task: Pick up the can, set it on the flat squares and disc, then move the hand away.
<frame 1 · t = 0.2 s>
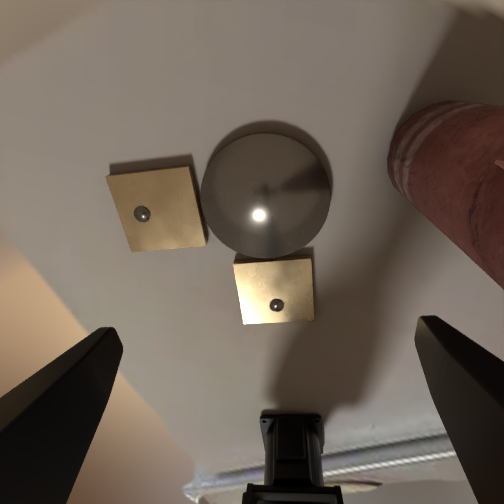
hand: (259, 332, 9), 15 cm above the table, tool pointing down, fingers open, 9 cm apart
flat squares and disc: (264, 199, 23), on the table
can: (431, 151, 20), on the table
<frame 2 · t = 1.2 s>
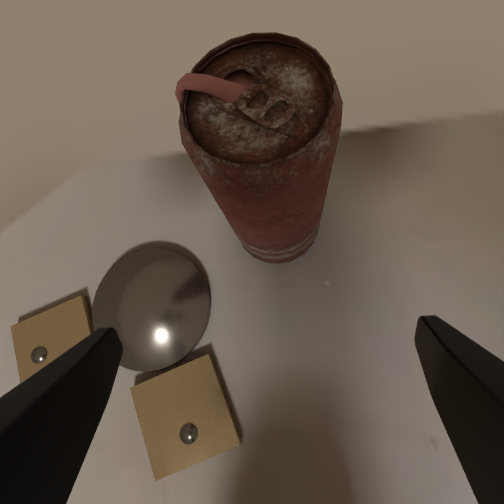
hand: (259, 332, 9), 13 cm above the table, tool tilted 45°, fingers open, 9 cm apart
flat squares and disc: (152, 307, 24), on the table
can: (275, 226, 24), on the table
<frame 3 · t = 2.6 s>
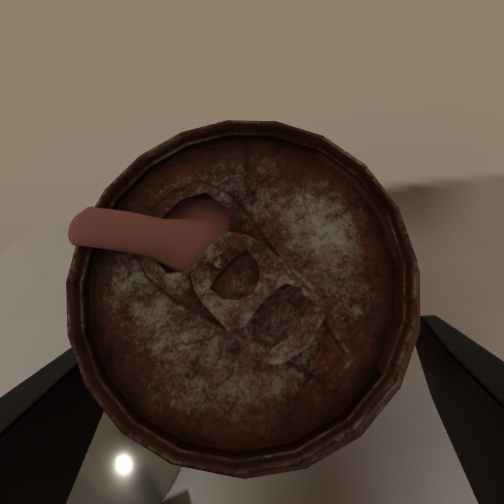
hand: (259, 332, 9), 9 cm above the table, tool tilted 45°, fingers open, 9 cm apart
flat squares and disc: (110, 432, 18), on the table
can: (275, 320, 18), on the table
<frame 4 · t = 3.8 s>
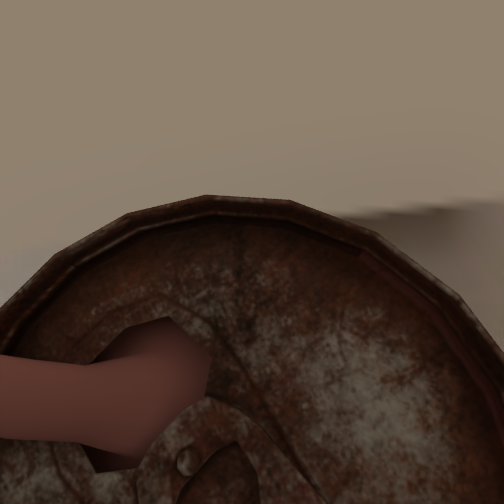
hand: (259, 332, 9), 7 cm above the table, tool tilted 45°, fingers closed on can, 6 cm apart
can: (278, 361, 16), on the table, touching gripper
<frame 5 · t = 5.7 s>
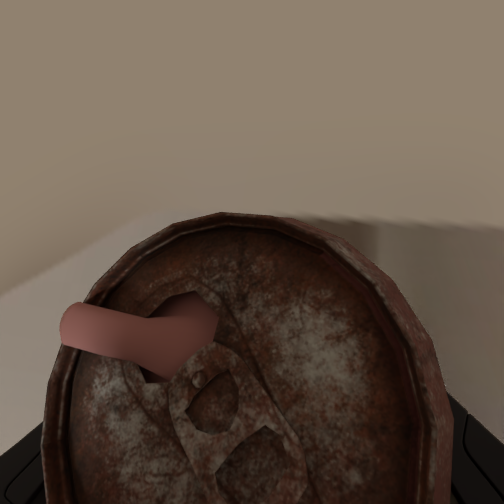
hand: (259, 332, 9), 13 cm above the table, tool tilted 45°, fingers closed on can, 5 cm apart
can: (319, 367, 17), point 5 cm above the table, touching gripper
when the fingers open (9 cm above the table, at t = 7.8 s): can stays where it is, resting on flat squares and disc.
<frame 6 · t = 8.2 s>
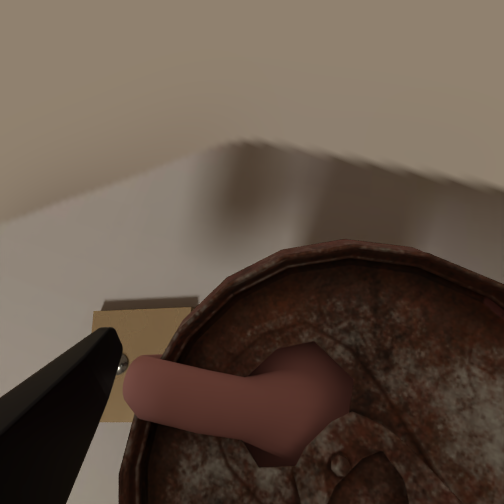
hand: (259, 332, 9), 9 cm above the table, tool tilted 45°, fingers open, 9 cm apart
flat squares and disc: (277, 359, 17), on the table
can: (319, 374, 16), point 1 cm above the table, touching gripper, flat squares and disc
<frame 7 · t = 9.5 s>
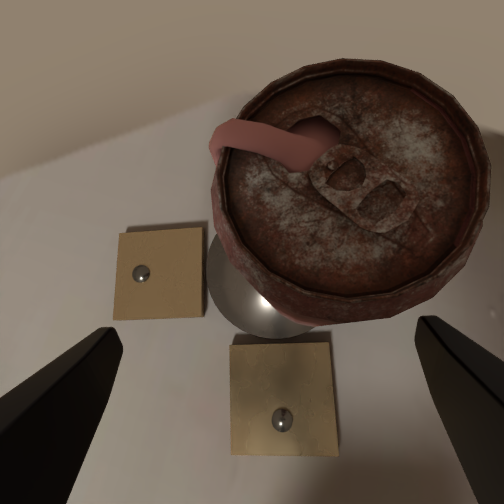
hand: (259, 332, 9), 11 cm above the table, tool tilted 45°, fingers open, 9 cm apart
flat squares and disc: (274, 267, 21), on the table
can: (309, 276, 20), resting on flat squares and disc
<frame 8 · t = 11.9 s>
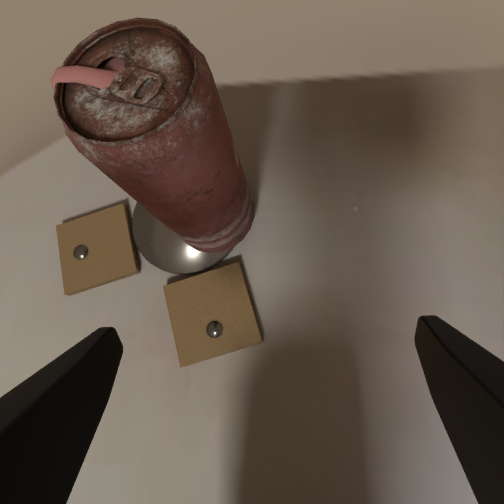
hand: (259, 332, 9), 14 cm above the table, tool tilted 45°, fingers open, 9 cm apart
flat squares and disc: (188, 219, 26), on the table
can: (214, 218, 25), resting on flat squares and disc
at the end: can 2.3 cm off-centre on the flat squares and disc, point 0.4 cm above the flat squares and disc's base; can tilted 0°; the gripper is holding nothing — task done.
